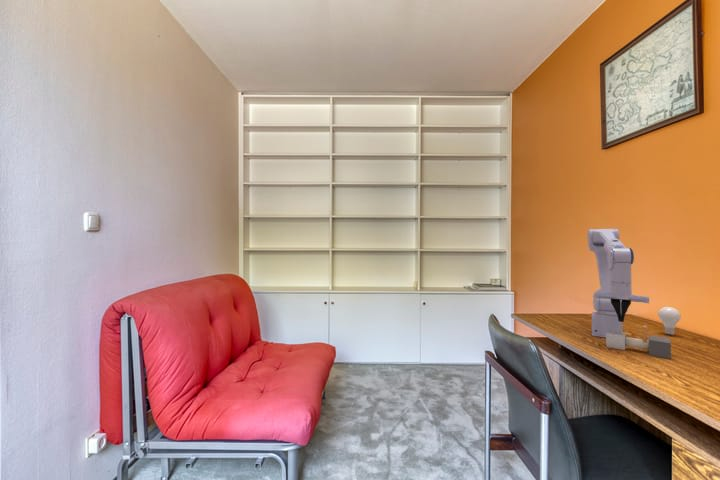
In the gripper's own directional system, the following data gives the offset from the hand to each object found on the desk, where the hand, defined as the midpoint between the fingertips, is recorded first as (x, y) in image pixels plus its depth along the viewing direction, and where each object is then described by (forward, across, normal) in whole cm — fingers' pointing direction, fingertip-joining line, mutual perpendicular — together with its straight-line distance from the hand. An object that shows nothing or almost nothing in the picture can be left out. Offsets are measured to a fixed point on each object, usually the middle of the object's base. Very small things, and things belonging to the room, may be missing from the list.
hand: (621, 321), depth 108 cm
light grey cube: (+9, -1, 0) cm, 9 cm away
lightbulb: (+10, +13, +32) cm, 36 cm away
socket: (+9, +10, 0) cm, 13 cm away
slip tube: (+8, +5, 0) cm, 9 cm away
